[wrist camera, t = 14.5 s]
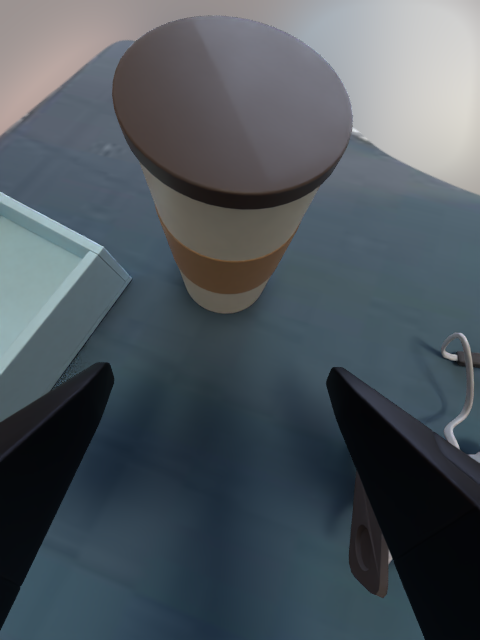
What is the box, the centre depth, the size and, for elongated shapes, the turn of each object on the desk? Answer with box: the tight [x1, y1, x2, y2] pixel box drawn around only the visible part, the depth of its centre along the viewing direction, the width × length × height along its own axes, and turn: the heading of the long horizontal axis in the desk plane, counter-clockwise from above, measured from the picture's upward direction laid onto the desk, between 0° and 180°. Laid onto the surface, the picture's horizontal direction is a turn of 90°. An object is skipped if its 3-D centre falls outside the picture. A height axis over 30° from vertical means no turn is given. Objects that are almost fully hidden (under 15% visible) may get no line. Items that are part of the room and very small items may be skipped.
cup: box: [112, 16, 353, 314], centre depth 12 cm, size 7×7×12 cm
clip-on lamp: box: [349, 333, 480, 598], centre depth 14 cm, size 12×6×18 cm
